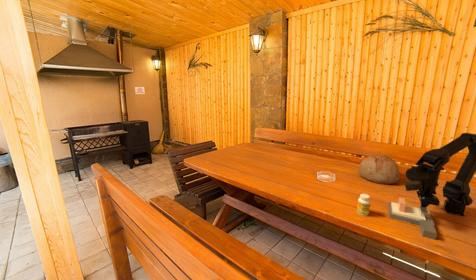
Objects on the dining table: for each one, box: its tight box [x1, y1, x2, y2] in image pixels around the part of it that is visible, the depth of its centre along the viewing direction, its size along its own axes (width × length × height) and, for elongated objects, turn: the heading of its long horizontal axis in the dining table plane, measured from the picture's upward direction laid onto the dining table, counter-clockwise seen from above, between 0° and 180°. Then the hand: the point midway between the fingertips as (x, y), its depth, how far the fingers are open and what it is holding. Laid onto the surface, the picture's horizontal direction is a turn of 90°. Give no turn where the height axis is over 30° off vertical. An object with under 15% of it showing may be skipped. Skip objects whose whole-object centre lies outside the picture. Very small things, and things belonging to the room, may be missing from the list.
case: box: [387, 202, 437, 240], centre depth 95 cm, size 16×20×3 cm
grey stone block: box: [418, 205, 431, 217], centre depth 95 cm, size 3×5×2 cm, turn 147°
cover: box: [390, 197, 426, 221], centre depth 98 cm, size 12×10×6 cm
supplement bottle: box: [356, 193, 372, 217], centre depth 101 cm, size 5×5×10 cm
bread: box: [358, 154, 401, 185], centre depth 140 cm, size 26×23×15 cm
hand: (422, 208), depth 98 cm, fingers closed
